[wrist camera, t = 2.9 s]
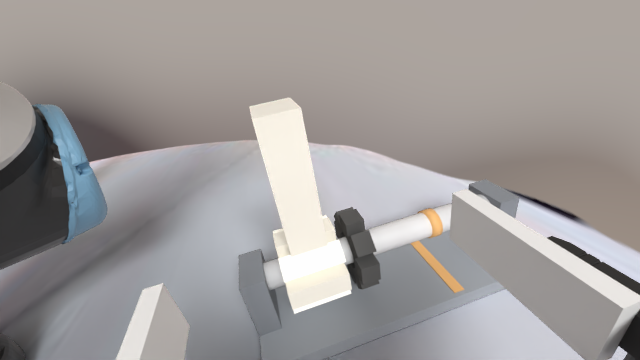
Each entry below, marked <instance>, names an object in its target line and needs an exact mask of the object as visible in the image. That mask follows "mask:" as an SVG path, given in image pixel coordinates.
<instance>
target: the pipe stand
mask: <svg viewBox="0 0 640 360" xmlns="http://www.w3.org/2000/svg"><path fill="white" fill-rule="evenodd" d="M469 191H471V192H473V193H474V194H476V195H477V196H479V197H481V198H482V199H484V200H486V201H487V202H489V203H490V204H492V205H494V206H495V207H497V208H499V209H500V210H502V211H503V212H505V213H507V214H508V215H510V216H512V217H513V218H515V216H516V211H517V207H518V202H519V197H518V196H516V195H514V194H512V193H511V192H509V191H507V190H505V189H503V188H501V187H499V186H497V185H495V184H493V183H492V182H490V181H487V180H486V179H485V180H482V181H478V182H475V183H472V184H469ZM451 207H452V203H449V204H446V205H443V206H440V207H437V208H434V209H431V208H429V209H425V210H422V211H419V212H418V213H417V214H415V215H412V216H409V217H405V218H402V219H399V220H396V221H393V222H390V223H387V224H383V225H380V226H377V227H374V228H371V229H368V230H369V232H370V234H371V237H372V240H373V242H374V245H375V248H376V251H377V252H374V253H373V254H374V255H375V257H376V258H377V260H378V262H379V263H380V272H381V279H380V280H379V283H380V284H377V285H374V286H371V287H368V288H366V289H363V290H362V289H358V287H357V284H355V283H354V281H353V279H352V277H351V275H350V280H351V287H352V290H351V294H349V295H346V296H343V297H340V298H337V299H335V300H332V301H329V302H326V303H323V304H320V305H318V306H315V307H312V308H309V309H306V310H304V311H301V312H298V313H295V314H294V311H293V309H292V306H291V303H290V300H289V297H288V293H287V288H286V284H285V282H284V279H283V276H282V272H281V268H280V264H279V260H278V259H279V258H276V259H273V260H270V261H267V262H265V260H264V257H263V254H262V251H261V249H258V250H255V251H252V252H249V253H246V254H242V255H239V290H240V293H241V295H242V297H243V299H244V302H245V304H246V306H247V309H248V311H249V313H250V315H251V318H252V320H253V322H254V325H255V327H256V329H257V331H258V334H259V336H260V347H261V359H262V360H324V359H326V358H329V357H332V356H334V355H337V354H339V353H342V352H344V351H347V350H350V349H352V348H355V347H357V346H360V345H362V344H365V343H368V342H370V341H373V340H375V339H378V338H380V337H383V336H385V335H388V334H391V333H393V332H396V331H398V330H401V329H403V328H406V327H409V326H411V325H414V324H416V323H419V322H421V321H424V320H427V319H429V318H432V317H434V316H437V315H439V314H442V313H445V312H447V311H450V310H452V309H455V308H457V307H460V306H463V305H465V304H468V303H470V302H473V301H475V300H478V299H481V298H483V297H486V296H488V295H491V294H493V293H496V292H498V291H501V290H504V289H505V288H504V287H503V286H502V285H501V284H500V283H499V282H498V281H496V280H495V279H494V278H493V277H492V276H491V275H490V274H489V273H488V272H486V271H485V270H484V269H483V268H482V267H481V266H480V265H479V264H478V263H476V262H475V261H474V260H473V259H472V258H471V257H470V256H469V255H468V254H466V253H465V252H464V251H463V250H462V249H461V248H460V247H459V246H457V245H456V244H455V243H454V242H453V241H452V240H451V239H450V238H449V235H450V221H451ZM365 231H367V230H365ZM337 240H338V239H337ZM339 241H340V244H341V247H342V250H343V253H344V256H345V259H346V262H344V264H345V266H346V268H347V270H348V267H347V264H350V263H353V262H354V259H353V255H352V252H351V249H350V246H349V243H348V240H347V238H346V237H342V238H339ZM348 272H349V271H348ZM349 274H350V273H349Z"/></svg>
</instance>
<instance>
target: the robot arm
mask: <svg viewBox="0 0 640 360" xmlns="http://www.w3.org/2000/svg"><path fill="white" fill-rule="evenodd" d="M106 215H107V204H106V201H105V198H104V195H103V193H102V190H101V188H100V185H99V183H98V181H97V178H96V176H95V174H94V172H93V170H92V168H91V167H90V166H89V162H88V160H87V157H86V155H85V152H84V150H83V148H82V146H81V144H80V142H79V140H78V138H77V136H76V134H75V132H74V130H73V128H72V126H71V124H70V123H69V121H68V119H67V117H66V116H65V114H64V113H63V111H62V110H61V109H60V108H59V107H57V106H55V105H41V104H35V105H31V104H30V103H29V101H28V100H27V99H26V98H25V97H24V96H23V95H22V94H21V93H20V92H18V91H17V90H16V89H15V88H13V87H11V86H9V85H7V84H6V83H3V82H0V270H1V269H4V268H6V267H8V266H11V265H13V264H15V263H18V262H20V261H22V260H25V259H27V258H29V257H32V256H34V255H36V254H38V253H41V252H43V251H45V250H48V249H50V248H52V247H55V246H57V245H59V244H64V243H67V242H69V241H71V240H72V239H73V238H74V237H75V236H77V235H79V234H81V233H83V232H85V231H87V230H89V229H91V228H93V227H95V226H97V225H99V224H100V223H101V222H102V221H103V220H104V219H105V217H106ZM449 238H450V239H451V240H452V241H453V242H454V243H455V244H456V245H457V246H459V247H460V248H461V249H462V250H463V251H464V252H465V253H466V254H468V255H469V256H470V257H471V258H472V259H473V260H474V261H475V262H476V263H478V264H479V265H480V266H481V267H482V268H483V269H484V270H485V271H486V272H488V273H489V274H490V275H491V276H492V277H493V278H494V279H495V280H496V281H498V282H499V283H500V284H501V285H502V286H503V287H504V288H505V289H507V290H508V291H509V292H510V293H511V294H512V295H513V296H514V297H515V298H517V299H518V300H519V301H520V302H521V303H522V304H523V305H524V306H525V307H527V308H528V309H529V310H530V311H531V312H532V313H533V314H534V315H535V316H537V317H538V318H539V319H540V320H541V321H542V322H543V323H544V324H546V325H547V326H548V327H549V328H550V329H551V330H552V331H553V332H554V333H556V334H557V335H558V336H559V337H560V338H561V339H562V340H563V341H564V342H566V343H567V344H568V345H569V346H570V347H571V348H572V349H573V350H574V351H576V352H577V353H578V354H579V355H580V356H581V357H582V358H583V359H585V360H607V359H610V358H612V356H613V354H614V353H615V351H616V349H617V347H618V346H620V347H621V348H622V349H624V350H625V351H626V352H627V355H626V357H625V358H624V360H640V283H638V282H636V281H635V280H633V279H631V278H629V277H628V276H626V275H624V274H623V273H621V272H619V271H618V270H616V269H614V268H612V267H611V266H609V265H607V264H606V263H604V262H600V260H599V259H597V258H595V257H594V256H592V255H590V254H587V253H586V252H585V251H583V250H582V249H580V248H578V247H577V246H575V245H573V244H571V243H570V242H567V241H564V240H561V239H559V238H556V237H553V236H551V237H548V238H546V237H544V236H542V235H541V234H539V233H538V232H536V231H534V230H533V229H531V228H529V227H528V226H526V225H525V224H523V223H521V222H520V221H518V220H516V219H515V218H513V217H512V216H510V215H508V214H507V213H505V212H503V211H502V210H500V209H499V208H497V207H495V206H494V205H492V204H490V203H489V202H487V201H486V200H484V199H482V198H481V197H479V196H477V195H476V194H474V193H473V192H471V191H469V190H468V189H464V190H461V191H458V192H455V193H452V207H451V221H450V235H449ZM189 329H190V326H189V324H188V322H187V321H186V319H185V318H184V316H183V314H182V313H181V311H180V309H179V308H178V306H177V305H176V303H175V301H174V300H173V298H172V296H171V295H170V293H169V292H168V290H167V288H166V287H165V285H164V283H162V284H159V285H155V286H152V287H149V288H146V289H143V291H142V293H141V296H140V298H139V301H138V303H137V306H136V309H135V311H134V314H133V316H132V319H131V322H130V324H129V327H128V329H127V332H126V335H125V337H124V340H123V342H122V345H121V347H120V350H119V353H118V355H117V358H116V360H184V358H185V352H186V346H187V340H188V335H189ZM0 360H25V355H24V352H23V350H22V349H21V348H20V347H19V346H18V345H17V344H16V343H15V342H13V341H12V340H11V339H10V338H9V337H7V336H6V335H4V334H2V333H0Z"/></svg>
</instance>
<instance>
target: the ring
mask: <svg viewBox="0 0 640 360" xmlns="http://www.w3.org/2000/svg"><path fill="white" fill-rule="evenodd" d="M334 218H335V221H334V224H335V230H336V235H337V237H338V239H339V238H342V237H346V238H347V240H348V243H349V246H350V249H351V252H352V255H353V259H354V262H353V263H350V264H347V267H348V271H349V273H350V275H351V277H352V279H353V281H354V283H355V284H357V287H358V289H362V290H363V289H366V288H368V287H371V286H374V285H377V284H380V283H379V280H380V279H381V272H380V263H379V262H378V260H377V258H376V257H375V255H374V254H373V253H374V252H377V251H376V248H375V245H374V242H373V240H372V237H371V234H370V232H369V230H367V231H365V226H364V219H363V218H362V217H361V215H360V214H359V213H358V211H357V210H356V209H354V210H353V207H351V208H348V209H345V210H341V211H338V212H336V213H335V215H334Z"/></svg>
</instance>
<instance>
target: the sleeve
mask: <svg viewBox="0 0 640 360" xmlns="http://www.w3.org/2000/svg"><path fill="white" fill-rule="evenodd" d="M249 108H250V113H251V117H252V121H253V125H254V128H255V132H256V135H257V139H258V142H259V146H260V149H261V153H262V156H263V160H264V163H265V167H266V170H267V174H268V177H269V181H270V184H271V188H272V191H273V195H274V198H275V202H276V205H277V209H278V212H279V216H280V219H281V223H282V226H283V228H282V229H278V230H275V231H273V237H274V243H275V248H276V251H277V254H278V257H279V259H278V260H279V264H280V268H281V272H282V276H283V279H284V282H285V284H286V288H287V293H288V297H289V300H290V303H291V306H292V309H293V311H294V314H295V313H298V312H301V311H304V310H306V309H309V308H312V307H315V306H318V305H320V304H323V303H326V302H329V301H332V300H335V299H337V298H340V297H343V296H346V295H349V294H351V290H352V287H351V280H350V274H349V272H348V270H347V268H346V266H345V264H344V262H346V259H345V256H344V253H343V250H342V247H341V244H340V241H339V239H338V240H337V239H336V234H335V229H334V227H333V225H332V223H331V221H330V219H329V217H326V215H325V216H322V213H321V208H320V202H319V197H318V192H317V187H316V182H315V177H314V172H313V167H312V162H311V157H310V152H309V147H308V141H307V137H306V132H305V126H304V122H303V116H302V112H301V107H299V106H298V105H297V104H296V103H295V102H294V101H293V100H292V99H291V98H285V99H280V100H276V101H272V102H267V103H263V104H258V105H254V106H250V107H249Z"/></svg>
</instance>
